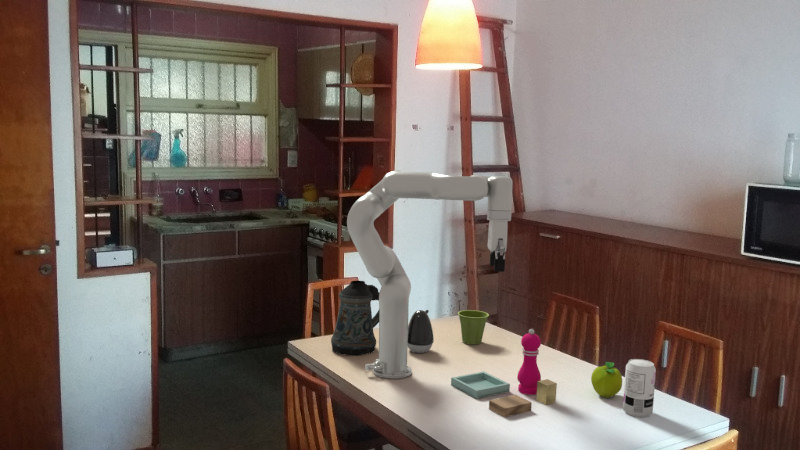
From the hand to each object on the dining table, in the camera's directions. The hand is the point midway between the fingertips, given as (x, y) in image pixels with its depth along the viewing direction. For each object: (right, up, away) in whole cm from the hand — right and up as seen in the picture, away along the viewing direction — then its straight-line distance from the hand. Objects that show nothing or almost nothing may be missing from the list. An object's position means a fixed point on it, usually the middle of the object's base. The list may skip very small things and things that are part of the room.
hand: (496, 268), depth 230 cm
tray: (-6, -37, -5) cm, 38 cm away
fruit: (+32, -39, -8) cm, 51 cm away
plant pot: (-3, -31, +45) cm, 54 cm away
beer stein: (-47, -31, +33) cm, 65 cm away
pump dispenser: (-24, -32, +32) cm, 51 cm away
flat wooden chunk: (+1, -40, -21) cm, 45 cm away
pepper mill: (+9, -38, -6) cm, 40 cm away
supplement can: (+38, -41, -21) cm, 60 cm away
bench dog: (+13, -39, -14) cm, 43 cm away
